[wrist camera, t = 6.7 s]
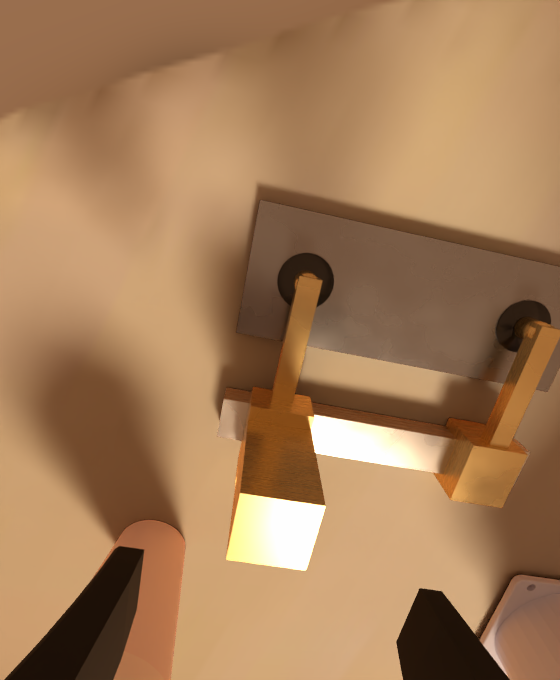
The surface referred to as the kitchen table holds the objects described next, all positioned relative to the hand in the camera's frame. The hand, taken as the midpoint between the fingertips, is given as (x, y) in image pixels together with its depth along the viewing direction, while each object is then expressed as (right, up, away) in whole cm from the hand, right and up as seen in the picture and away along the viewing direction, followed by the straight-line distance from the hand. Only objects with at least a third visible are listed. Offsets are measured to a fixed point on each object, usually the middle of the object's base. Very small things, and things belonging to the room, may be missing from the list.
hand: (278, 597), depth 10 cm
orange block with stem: (0, +5, +7) cm, 9 cm away
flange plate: (+6, +8, +7) cm, 13 cm away
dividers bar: (+5, +5, +8) cm, 11 cm away
